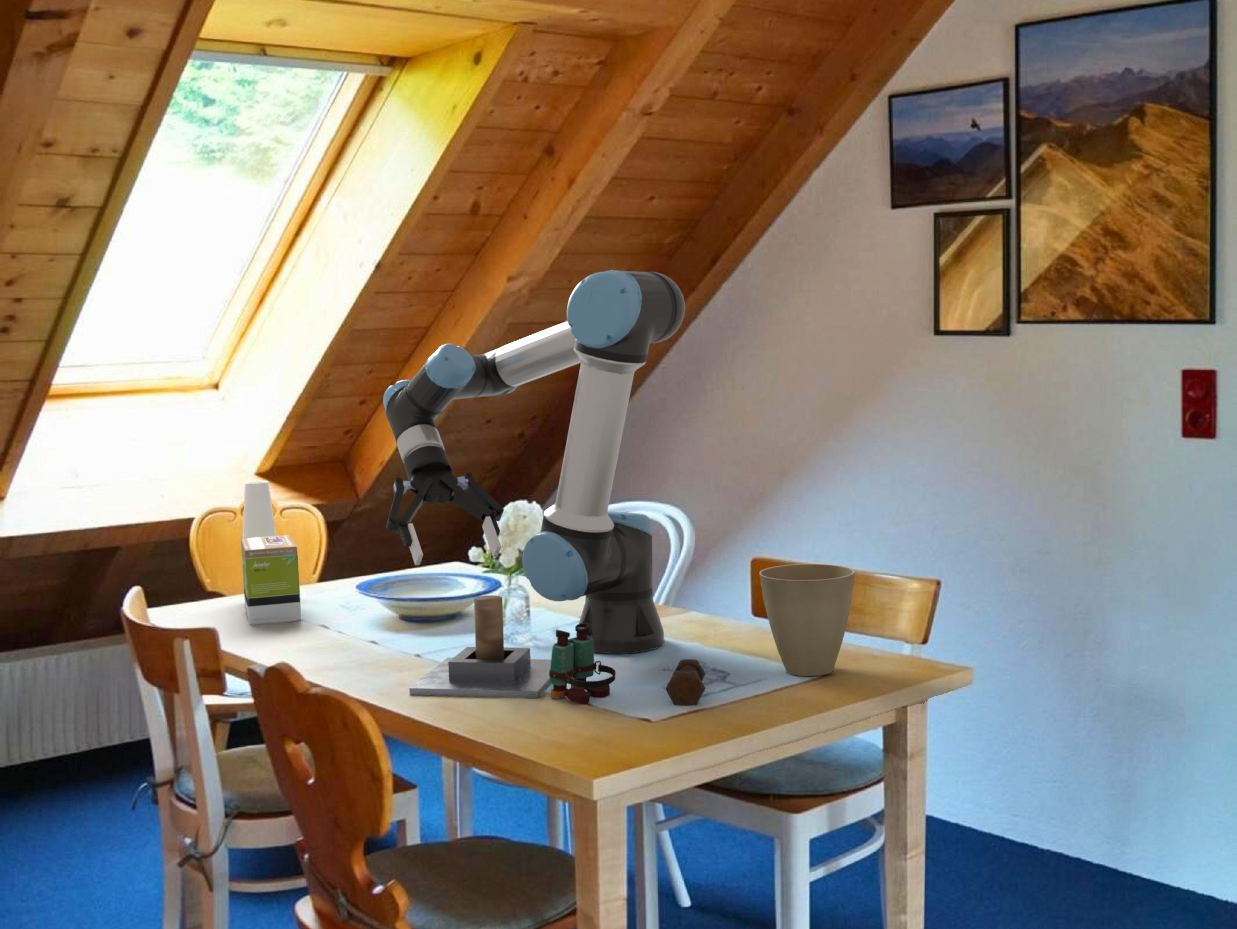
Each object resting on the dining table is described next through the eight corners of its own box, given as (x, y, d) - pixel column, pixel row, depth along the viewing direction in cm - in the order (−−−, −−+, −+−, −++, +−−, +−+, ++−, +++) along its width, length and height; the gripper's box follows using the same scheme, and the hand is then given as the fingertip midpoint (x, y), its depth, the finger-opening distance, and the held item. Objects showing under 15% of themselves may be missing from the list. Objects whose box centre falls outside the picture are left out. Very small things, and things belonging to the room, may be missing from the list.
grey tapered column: (283, 597, 304) (277, 482, 302) (251, 601, 301) (245, 484, 299) (273, 592, 310) (267, 479, 308) (241, 596, 307) (235, 481, 304)
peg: (507, 670, 234) (505, 595, 233) (500, 677, 229) (498, 601, 228) (480, 669, 235) (478, 595, 233) (473, 676, 230) (470, 600, 229)
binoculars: (592, 643, 212) (540, 628, 218) (588, 714, 214) (537, 697, 220) (631, 632, 219) (580, 618, 225) (627, 700, 221) (577, 684, 227)
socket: (566, 665, 240) (565, 641, 240) (537, 697, 221) (537, 671, 220) (448, 663, 244) (447, 639, 243) (409, 694, 224) (408, 668, 224)
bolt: (695, 692, 229) (690, 715, 214) (667, 676, 230) (660, 698, 215) (713, 660, 229) (709, 681, 214) (685, 644, 229) (679, 664, 214)
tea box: (243, 611, 292) (239, 537, 290) (295, 606, 295) (291, 533, 293) (248, 626, 278) (244, 548, 276) (302, 621, 281) (298, 544, 279)
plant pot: (826, 656, 243) (825, 560, 241) (873, 676, 229) (873, 574, 227) (744, 666, 237) (743, 568, 236) (787, 686, 223) (786, 583, 222)
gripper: (486, 466, 262) (523, 562, 250) (349, 477, 250) (381, 577, 239) (497, 439, 256) (534, 535, 245) (357, 448, 245) (390, 549, 233)
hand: (458, 556), depth 242 cm, fingers open, 13 cm apart
